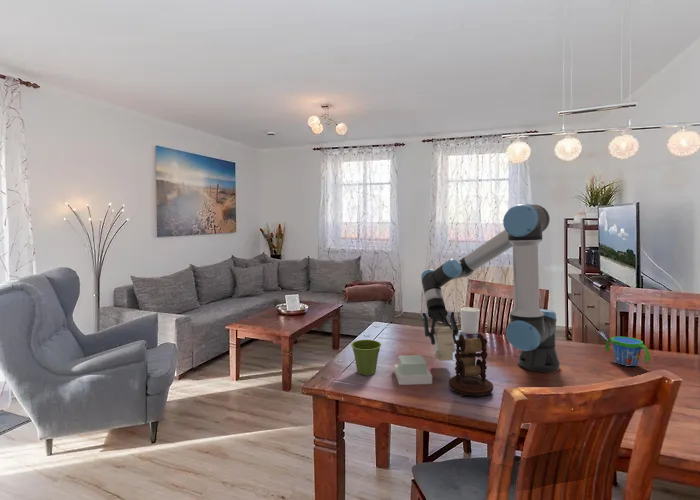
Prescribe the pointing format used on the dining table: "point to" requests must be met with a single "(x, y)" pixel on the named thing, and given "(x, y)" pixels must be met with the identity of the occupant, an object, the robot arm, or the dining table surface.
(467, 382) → the brown wooden spool stand
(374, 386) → the dining table surface
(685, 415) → the dining table surface
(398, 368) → the tower base
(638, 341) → the snack cup
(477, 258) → the robot arm
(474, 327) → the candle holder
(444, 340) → the maple brick
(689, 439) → the dining table surface
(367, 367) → the plant pot
